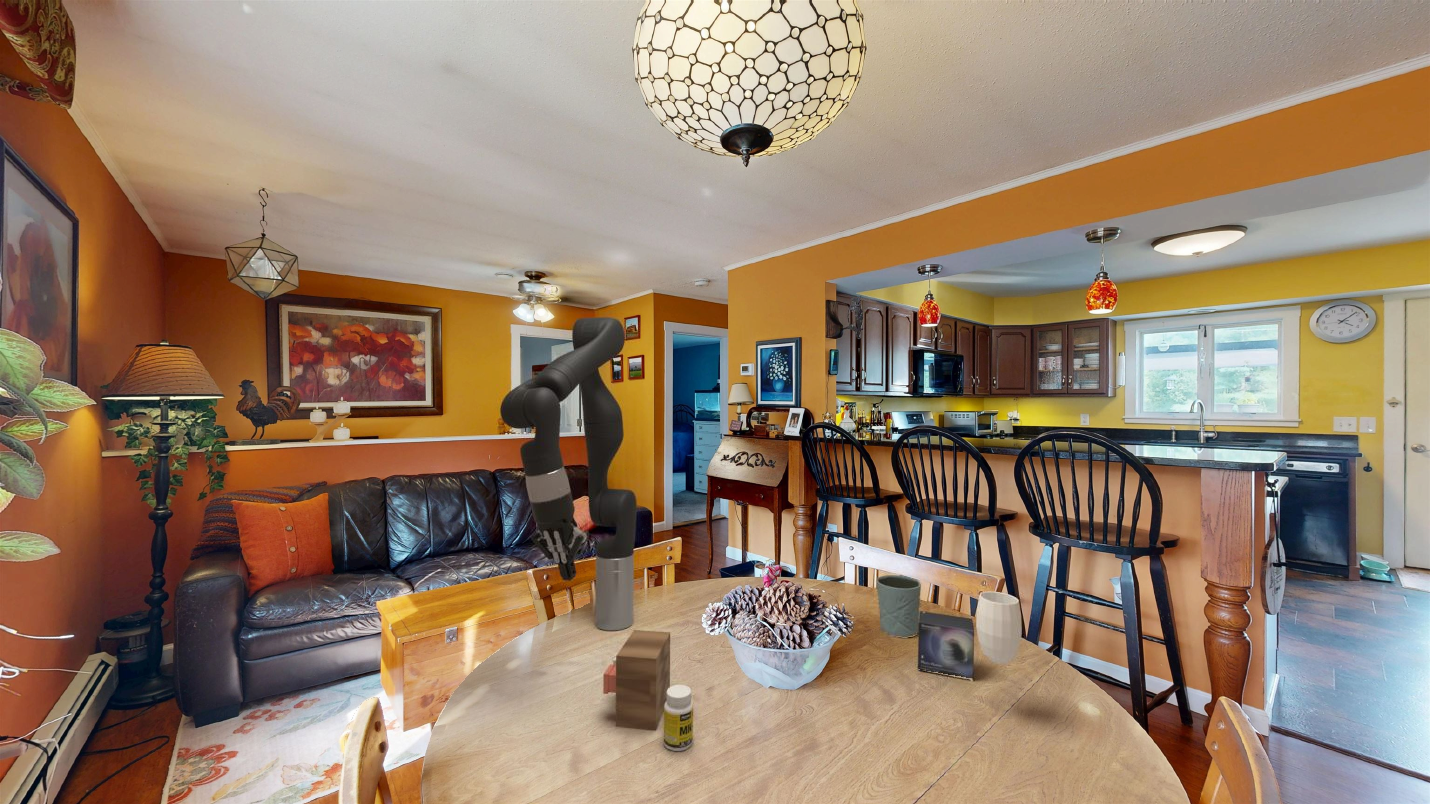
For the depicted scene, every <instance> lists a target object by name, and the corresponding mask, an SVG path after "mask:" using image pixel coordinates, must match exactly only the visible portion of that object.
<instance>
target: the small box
mask: <svg viewBox="0 0 1430 804" xmlns="http://www.w3.org/2000/svg"><path fill="white" fill-rule="evenodd" d="M917 636H918V637H917V639H918V640H917V641H918V642H917V643H918V644H917V670H918V669H920V670H926V671H931V672H938V673H943V674H948V675H955V676H961V677H966V678H973V679H974V663H975V661H974V658H975V656H974V655H975V653H974V652H975V625H974V621H973V618H969V617H962V616H956V615H949V614H944V613H943V614H942V613H937V612H935V613H934V612H931V611H930V612H929V611H925V610H924V611H923V610H919V621H918V634H917Z"/></svg>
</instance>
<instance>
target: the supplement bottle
mask: <svg viewBox="0 0 1430 804" xmlns="http://www.w3.org/2000/svg"><path fill="white" fill-rule="evenodd" d="M666 699H667V701H666V702H665V705H664V712H663V745H664V747H666V748H667V749H668V750H669V751H673V752H682V751H685V750H687V749H689V748H690V747H691V746H692V744H693V740H694V735H693V734H694V703H693V701H692V689H691V688H690V687H689V686H687V685H684V684H675V685H670V688H668V690H667V697H666Z"/></svg>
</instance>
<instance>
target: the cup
mask: <svg viewBox="0 0 1430 804" xmlns="http://www.w3.org/2000/svg"><path fill="white" fill-rule="evenodd" d="M978 596H979V597H978V602H977V607H976V619H975V621H976V622H975V623H976V624H975V626H976V634H977V640H978V644H979V647H980V649H981V652H982V653H983V654H984V655H985V656H986V657H987V658H988V660H990V661H991V662H992V663H995V664H998V665H1006V664H1007V663H1009V662H1010V661H1014V660H1015V659H1016V656H1017V655H1018V652H1019V649H1020V646H1021V645H1020V644H1021V639H1022V634H1023V632H1022V631H1023V630H1022V629H1023V628H1022V613H1021V606H1020V600H1019V599H1018V598H1017V597H1015V596H1013V595H1011V594H1008V593H1004V592H998V591H983V592H980V593H979V595H978Z"/></svg>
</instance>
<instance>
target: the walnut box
mask: <svg viewBox="0 0 1430 804" xmlns="http://www.w3.org/2000/svg"><path fill="white" fill-rule="evenodd" d="M615 657H616V693H615V727H620V728H630V729H637V730H638V729H639V730H640V729H641V730H648V731H649V730H650V731H656V730H658V729H657V728H658V726H659V723H660V721H661V718H662V716H663V715H664V705H665V702H666V701H667V699H666V697H667V690H668V688H670V687H671V683H670V682H671V632H668V631H666V632H665V631H653V630H639V629H634V630H633V631H632V632H631V633H630V635H629V637H628V639H627V640H626V641H625V642H624V644H623V645H622V647H621V648H620V649H619V651H618V653H617V654H616V655H615Z"/></svg>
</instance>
